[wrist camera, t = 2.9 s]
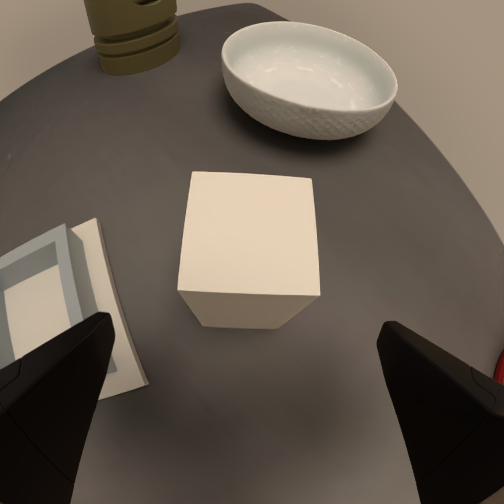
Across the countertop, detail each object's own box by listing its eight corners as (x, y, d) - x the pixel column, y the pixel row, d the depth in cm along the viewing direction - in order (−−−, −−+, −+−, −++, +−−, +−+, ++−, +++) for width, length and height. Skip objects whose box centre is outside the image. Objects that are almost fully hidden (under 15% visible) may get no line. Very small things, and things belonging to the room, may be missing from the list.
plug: (276, 329, 19) (320, 295, 10) (202, 326, 19) (177, 290, 10) (276, 260, 21) (311, 178, 12) (207, 257, 21) (192, 171, 12)
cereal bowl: (264, 54, 32) (270, 10, 25) (383, 103, 30) (404, 61, 24) (187, 124, 26) (181, 65, 19) (351, 197, 24) (385, 144, 17)
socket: (149, 384, 17) (130, 388, 14) (20, 419, 14) (-10, 422, 11) (100, 223, 21) (80, 197, 18) (-9, 277, 18) (-35, 262, 15)
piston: (194, -27, 21) (104, 1, 17) (196, 48, 32) (124, 85, 28) (145, -30, 23) (71, -2, 19) (152, 32, 34) (90, 63, 30)
